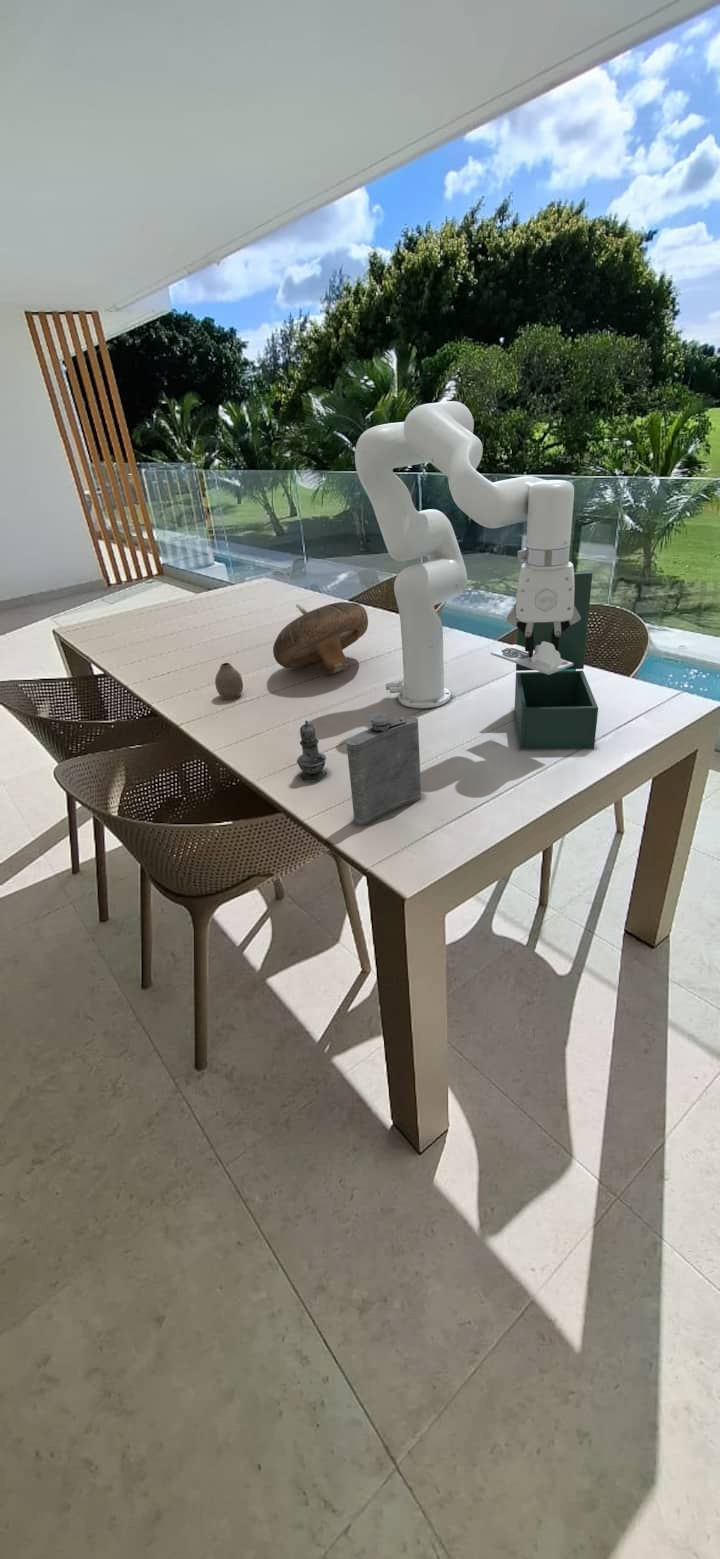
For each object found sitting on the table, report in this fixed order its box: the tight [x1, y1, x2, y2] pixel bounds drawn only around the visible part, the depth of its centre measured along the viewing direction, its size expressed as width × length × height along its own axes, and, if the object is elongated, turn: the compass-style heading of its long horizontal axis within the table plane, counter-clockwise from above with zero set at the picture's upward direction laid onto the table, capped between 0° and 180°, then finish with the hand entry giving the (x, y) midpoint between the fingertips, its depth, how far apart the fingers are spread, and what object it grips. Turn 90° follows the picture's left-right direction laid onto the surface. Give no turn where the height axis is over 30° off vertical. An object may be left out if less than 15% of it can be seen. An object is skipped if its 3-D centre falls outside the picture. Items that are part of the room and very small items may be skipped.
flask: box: [345, 712, 422, 826], centre depth 116 cm, size 4×14×18 cm, turn 125°
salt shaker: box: [296, 719, 328, 783], centre depth 130 cm, size 6×6×12 cm
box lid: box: [515, 571, 593, 672], centre depth 143 cm, size 21×14×5 cm
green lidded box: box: [514, 670, 599, 750], centre depth 140 cm, size 20×14×9 cm
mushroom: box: [272, 601, 369, 675], centre depth 180 cm, size 28×23×25 cm
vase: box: [214, 662, 244, 700], centre depth 171 cm, size 7×7×9 cm
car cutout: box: [490, 641, 574, 675], centre depth 128 cm, size 15×7×4 cm, turn 34°
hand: (541, 653), depth 128 cm, fingers closed on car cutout, 3 cm apart
